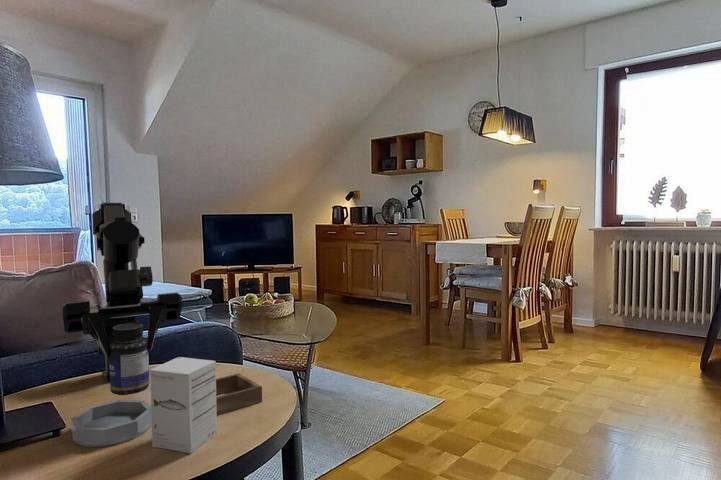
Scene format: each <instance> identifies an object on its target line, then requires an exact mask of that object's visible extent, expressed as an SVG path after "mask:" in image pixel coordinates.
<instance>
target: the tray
mask: <svg viewBox="0 0 721 480" xmlns="http://www.w3.org/2000/svg"><path fill="white" fill-rule="evenodd" d="M150 427H152V413H151V405H149V404H148V403H147V402H146V401H145V400H133V399H131V400H130V399H117V400H114V401H109V402H105V403H102V404H97V405H93V406H89V407H88V408H86V409H84V410H83V411H81V412H80V413H77V414H76V415H74V416H73V417H71V418H70V431H71V433H72V441H73V443H75V444H76V445H78V446H81V447H85V448H86V447H87V448H100V447H101V448H102V447H109V446H115V445H118V444H119V445H120V444H122V443H125V442H129V441H131V440H133V439H136V438H137V437H140V436H142V435H143V434H145V433H146V432H147V431H149V429H150Z"/></svg>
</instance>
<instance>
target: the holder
mask: <svg viewBox="0 0 721 480" xmlns="http://www.w3.org/2000/svg"><path fill="white" fill-rule="evenodd" d="M236 389H238V391H237V390H236ZM232 390H233V391H234V392H232ZM225 392H226V393H228V392H229V393H228V394H225ZM230 392H231V393H230ZM221 393H222V394H223V395H221ZM218 395H219V396H218ZM259 403H263V386H262V385H260V384H258V383H256V382H254V381H253V380H252V379H249V378H248V377H246V376H244V375H242V374H241V373H239V372H238V373H235V374H231V375H227V376H223V377H219V378H216V408H217V416H218V414H219V415H222V414H225V413H228V411H229V412H232V411H234V410H235V411H236V410H239V409H241V408H245V407H248V406H253V405H256V404H259Z"/></svg>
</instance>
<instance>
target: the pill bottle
mask: <svg viewBox="0 0 721 480" xmlns="http://www.w3.org/2000/svg"><path fill="white" fill-rule="evenodd" d="M112 330H113V336H114V338H115V339H114V340H113V341H112V342H111V343H110V344H109V369H110V381H109V385H110V387H109V389H110V392H111V393H112V394H114V395H117V396H129V395H135V394H138V393H141V392H144V391H145V390H147V389H148V388H149V386H150V384H151V380H150V360H149V359H150V358H149V355H150V354H149V351H148V338H146V337H144V336H143V337H142V333H143V334H144V325H143V324H142V323H141V322H139V323H126V324H120V325H117V326H114V327H113V329H112Z"/></svg>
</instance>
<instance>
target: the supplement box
mask: <svg viewBox="0 0 721 480" xmlns="http://www.w3.org/2000/svg"><path fill="white" fill-rule="evenodd" d="M216 367H217V361H216V360H212V359H211V360H210V359H200V358H194V357H193V358H191V357H182V356H178V357H174V358H173V359H171V360H169V361H166V362H164V363H162V364H160V365H157V366H155V367H153V368H152V369H149V376H150V404H151V405H150V407H151V413H152V421H151V438H152V439H151V444H152V445H151V446H152V448H159V449H165V450H171V451H176V452H181V453H186V454H192V453H194V452H195V451H196V450H198V449H199V448H200V447H202V446H203V445H204V444H206V443H207V442H209V440H211V439H212V438H213V437H215V436H216V434H218V433H217V432H218V430H217V429H218V427H217V422H218V421H217V418H218V415H217V408H216V397H217V395H216V379H217V369H216Z"/></svg>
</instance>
